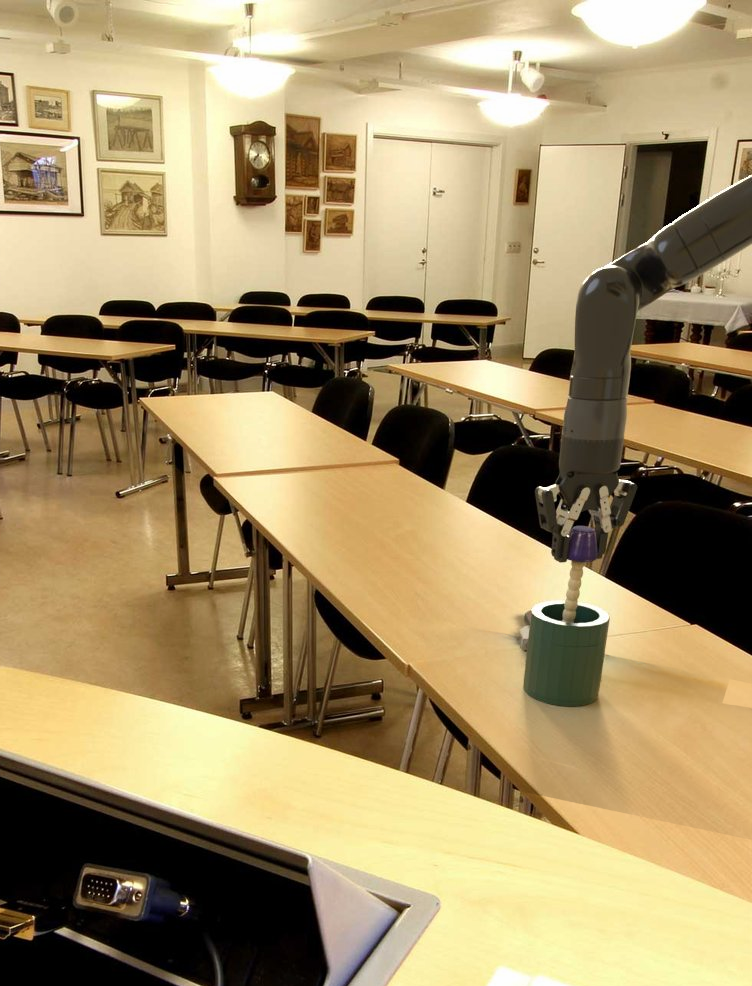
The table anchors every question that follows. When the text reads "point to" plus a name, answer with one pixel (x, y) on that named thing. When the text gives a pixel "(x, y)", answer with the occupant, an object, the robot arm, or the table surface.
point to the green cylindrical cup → (565, 654)
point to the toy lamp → (578, 565)
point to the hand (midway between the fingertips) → (577, 558)
